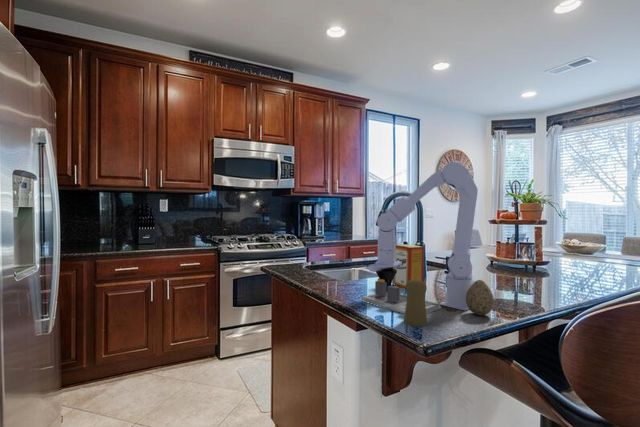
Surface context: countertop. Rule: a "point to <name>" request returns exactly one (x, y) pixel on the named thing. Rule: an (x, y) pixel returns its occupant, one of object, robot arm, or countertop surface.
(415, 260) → the baking soda box
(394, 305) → the panel
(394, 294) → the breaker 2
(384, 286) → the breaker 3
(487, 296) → the decorative egg
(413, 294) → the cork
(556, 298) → the countertop surface
